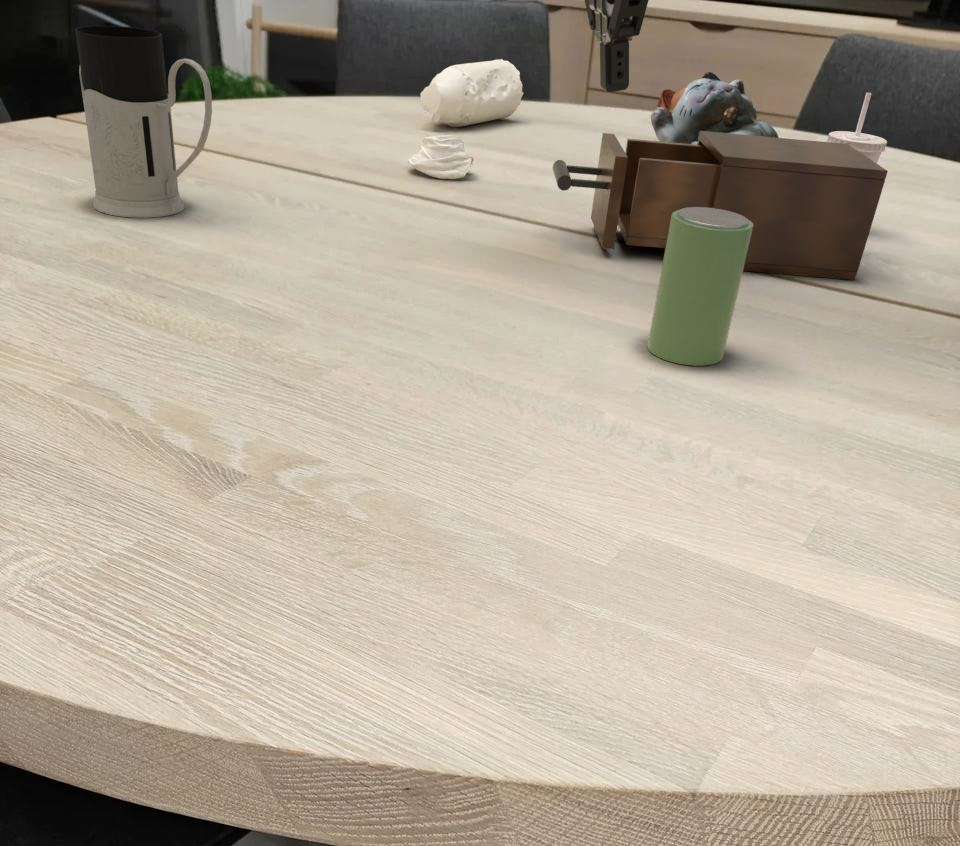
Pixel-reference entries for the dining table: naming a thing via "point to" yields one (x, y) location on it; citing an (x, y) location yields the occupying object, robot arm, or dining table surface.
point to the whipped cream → (442, 157)
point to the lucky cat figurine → (706, 111)
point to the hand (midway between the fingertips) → (614, 89)
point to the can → (699, 285)
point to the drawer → (643, 187)
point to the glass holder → (133, 120)
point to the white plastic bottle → (473, 93)
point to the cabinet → (798, 201)
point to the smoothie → (861, 137)
